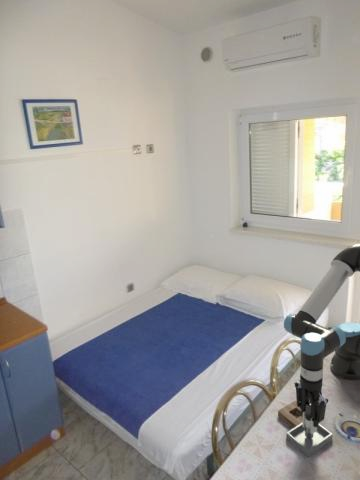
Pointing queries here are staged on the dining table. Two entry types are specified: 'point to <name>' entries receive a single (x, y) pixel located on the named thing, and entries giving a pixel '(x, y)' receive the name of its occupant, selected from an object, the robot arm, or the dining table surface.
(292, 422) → the plate
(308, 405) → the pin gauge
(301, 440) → the tray
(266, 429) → the dining table surface
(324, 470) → the dining table surface
